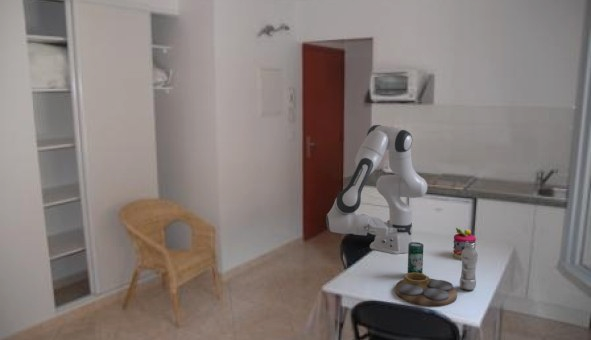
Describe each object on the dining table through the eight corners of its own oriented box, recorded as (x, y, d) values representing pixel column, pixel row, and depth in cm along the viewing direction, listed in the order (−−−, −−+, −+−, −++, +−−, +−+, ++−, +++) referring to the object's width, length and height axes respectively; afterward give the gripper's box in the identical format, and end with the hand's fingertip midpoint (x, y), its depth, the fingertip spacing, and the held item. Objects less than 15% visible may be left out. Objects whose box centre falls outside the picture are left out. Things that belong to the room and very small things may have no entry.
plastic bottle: (455, 288, 197) (458, 242, 194) (465, 284, 201) (467, 239, 198) (469, 293, 192) (472, 246, 189) (479, 289, 196) (481, 242, 193)
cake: (464, 252, 241) (466, 224, 239) (479, 259, 231) (481, 229, 229) (448, 255, 237) (449, 226, 235) (462, 262, 227) (464, 232, 225)
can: (411, 279, 206) (412, 246, 204) (405, 274, 212) (406, 242, 210) (424, 278, 207) (425, 246, 205) (418, 273, 213) (419, 241, 211)
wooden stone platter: (388, 299, 187) (388, 288, 186) (403, 278, 208) (403, 268, 207) (451, 311, 176) (452, 299, 175) (460, 288, 197) (461, 277, 196)
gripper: (367, 223, 196) (400, 225, 196) (360, 213, 216) (390, 215, 216) (365, 238, 196) (398, 240, 196) (359, 226, 217) (389, 229, 217)
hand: (394, 227), depth 206 cm, fingers open, 8 cm apart
